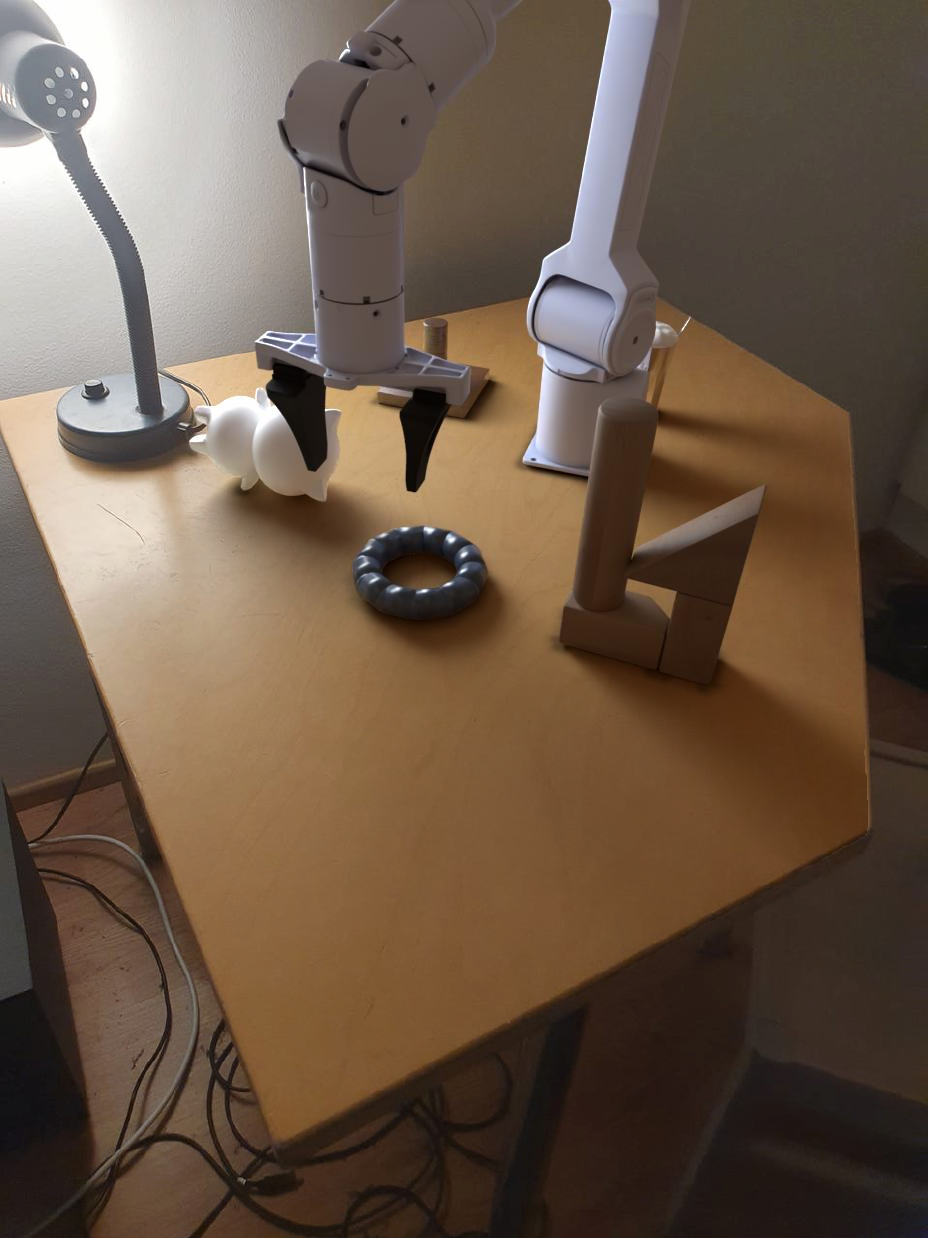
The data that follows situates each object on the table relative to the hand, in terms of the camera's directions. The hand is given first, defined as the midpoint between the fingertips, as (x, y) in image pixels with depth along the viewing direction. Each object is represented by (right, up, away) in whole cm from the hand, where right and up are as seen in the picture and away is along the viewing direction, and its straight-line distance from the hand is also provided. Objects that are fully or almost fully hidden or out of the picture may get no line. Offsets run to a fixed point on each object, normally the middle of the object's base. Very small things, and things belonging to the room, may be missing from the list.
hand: (365, 474), depth 66 cm
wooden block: (+19, -13, -1) cm, 23 cm away
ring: (+4, -7, +3) cm, 8 cm away
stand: (+4, +13, +27) cm, 31 cm away
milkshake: (+25, +10, +25) cm, 37 cm away
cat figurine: (-9, +2, +14) cm, 17 cm away
